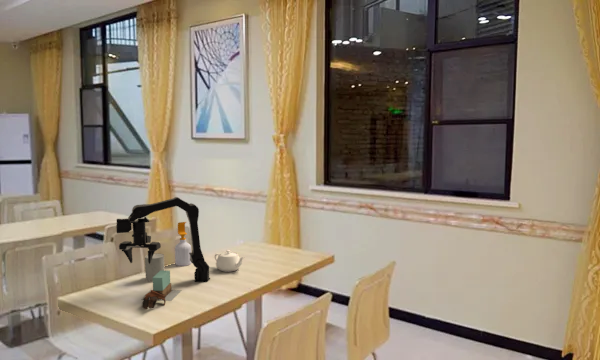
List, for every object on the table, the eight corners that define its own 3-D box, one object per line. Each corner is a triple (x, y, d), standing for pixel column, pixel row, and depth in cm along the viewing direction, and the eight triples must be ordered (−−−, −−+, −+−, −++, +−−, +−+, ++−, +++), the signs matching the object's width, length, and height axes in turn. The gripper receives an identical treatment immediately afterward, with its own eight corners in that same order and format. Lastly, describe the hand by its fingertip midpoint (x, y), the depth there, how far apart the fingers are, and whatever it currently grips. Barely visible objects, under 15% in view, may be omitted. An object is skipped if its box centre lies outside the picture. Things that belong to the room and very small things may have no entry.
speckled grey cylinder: (159, 282, 243) (158, 258, 241) (142, 281, 245) (141, 257, 243) (168, 276, 252) (167, 253, 251) (151, 275, 254) (150, 253, 252)
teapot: (206, 269, 265) (205, 250, 264) (223, 263, 276) (223, 245, 275) (236, 276, 253) (235, 256, 251) (253, 270, 264) (252, 250, 262)
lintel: (160, 282, 229) (160, 270, 228) (170, 282, 229) (169, 270, 228) (153, 290, 218) (152, 277, 218) (162, 290, 218) (162, 277, 217)
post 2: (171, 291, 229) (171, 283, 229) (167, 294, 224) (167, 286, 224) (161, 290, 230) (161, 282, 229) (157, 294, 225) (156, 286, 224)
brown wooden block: (167, 295, 224) (166, 286, 223) (162, 299, 219) (162, 290, 218) (156, 294, 224) (156, 286, 224) (152, 298, 219) (152, 290, 219)
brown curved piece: (140, 305, 214) (149, 287, 216) (160, 313, 215) (168, 295, 217) (138, 308, 202) (147, 289, 204) (159, 316, 204) (168, 298, 206)
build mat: (182, 291, 230) (181, 290, 230) (171, 301, 216) (171, 300, 216) (153, 290, 232) (153, 289, 232) (141, 300, 218) (141, 299, 218)
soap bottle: (177, 267, 269) (176, 223, 266) (173, 262, 277) (172, 220, 274) (193, 264, 273) (192, 222, 271) (189, 260, 281) (188, 219, 279)
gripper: (164, 228, 238) (165, 259, 240) (128, 227, 240) (129, 258, 242) (155, 233, 227) (156, 265, 229) (117, 232, 229) (119, 264, 231)
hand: (140, 263), depth 233 cm, fingers open, 9 cm apart
